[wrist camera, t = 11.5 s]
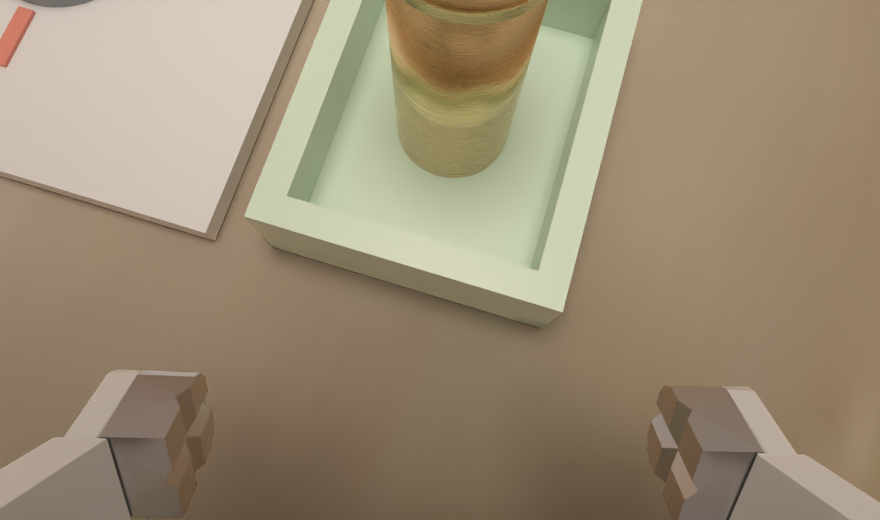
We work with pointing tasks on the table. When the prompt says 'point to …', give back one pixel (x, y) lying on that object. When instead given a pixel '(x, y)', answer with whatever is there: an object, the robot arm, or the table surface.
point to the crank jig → (141, 99)
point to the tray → (440, 198)
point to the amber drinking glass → (459, 77)
